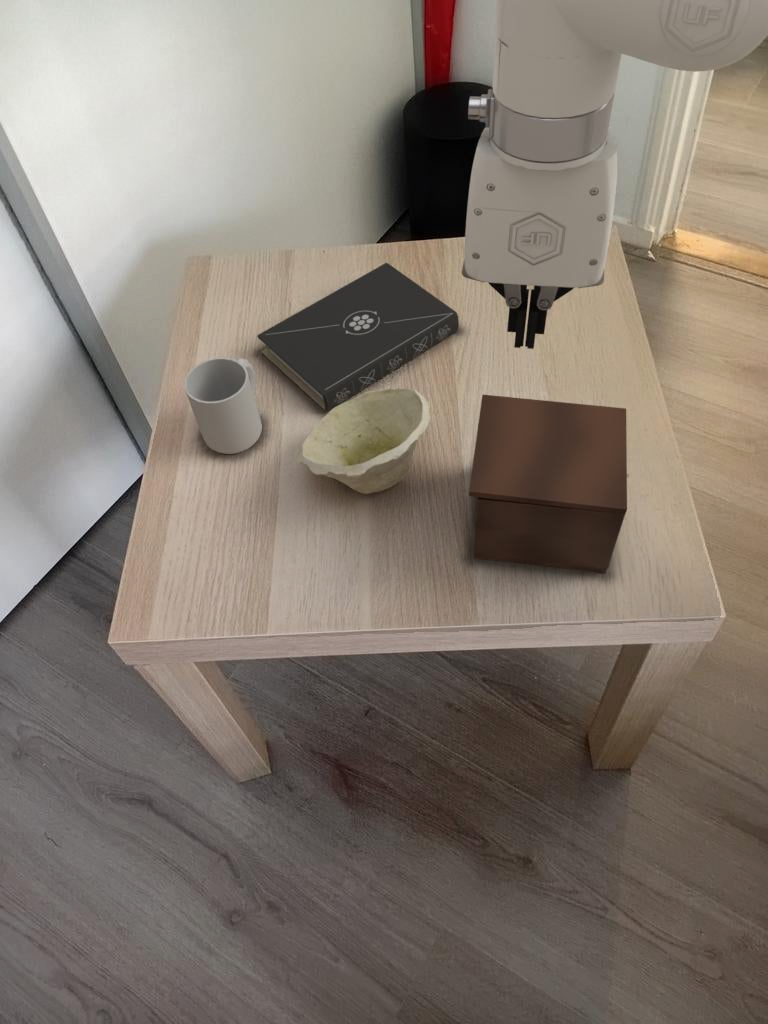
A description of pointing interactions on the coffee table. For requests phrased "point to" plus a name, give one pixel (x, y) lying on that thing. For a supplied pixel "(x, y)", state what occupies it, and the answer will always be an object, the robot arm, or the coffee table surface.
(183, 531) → the coffee table surface
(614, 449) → the lid
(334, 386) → the book
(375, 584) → the coffee table surface
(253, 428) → the cup
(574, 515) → the chest
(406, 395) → the bowl
